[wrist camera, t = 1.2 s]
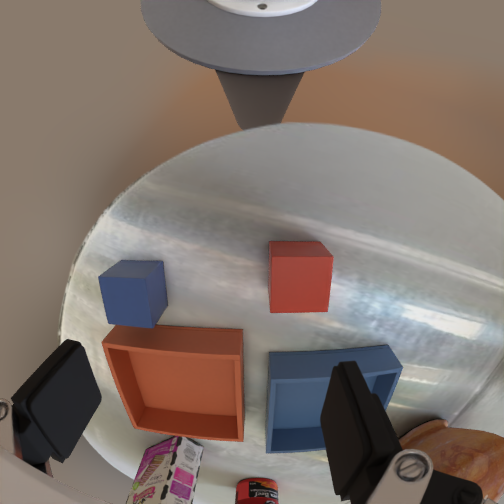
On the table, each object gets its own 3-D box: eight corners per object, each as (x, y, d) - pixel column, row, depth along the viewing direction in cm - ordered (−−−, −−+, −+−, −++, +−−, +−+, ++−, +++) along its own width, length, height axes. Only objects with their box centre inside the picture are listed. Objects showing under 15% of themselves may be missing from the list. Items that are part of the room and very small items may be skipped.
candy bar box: (179, 431, 33) (155, 521, 18) (204, 446, 34) (189, 533, 19) (143, 448, 36) (118, 520, 20) (166, 461, 37) (147, 532, 21)
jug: (315, 469, 37) (332, 604, 8) (440, 366, 30) (535, 518, 1) (399, 478, 40) (427, 568, 12) (491, 399, 33) (549, 487, 5)
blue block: (120, 260, 26) (98, 276, 22) (163, 260, 26) (145, 278, 21) (127, 302, 27) (108, 323, 23) (168, 305, 27) (153, 328, 23)
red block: (269, 240, 25) (271, 256, 21) (320, 241, 25) (333, 256, 21) (268, 289, 27) (270, 313, 22) (317, 289, 27) (327, 312, 22)
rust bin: (118, 320, 28) (101, 342, 24) (242, 328, 28) (240, 355, 24) (143, 405, 32) (134, 428, 28) (244, 415, 32) (243, 441, 27)
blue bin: (269, 351, 29) (270, 379, 24) (388, 344, 28) (403, 367, 24) (265, 428, 33) (265, 453, 28) (361, 420, 32) (369, 442, 28)
